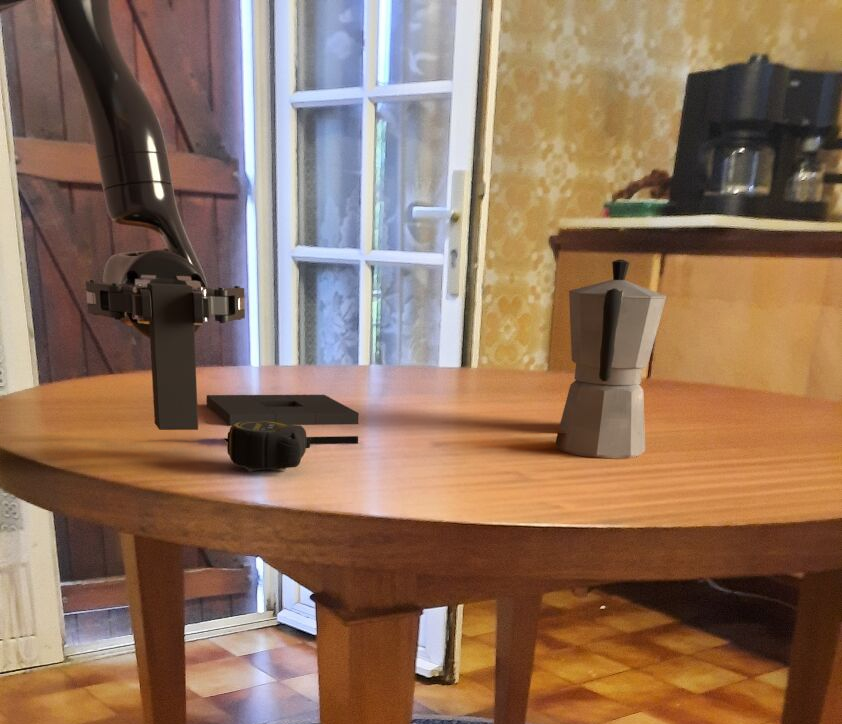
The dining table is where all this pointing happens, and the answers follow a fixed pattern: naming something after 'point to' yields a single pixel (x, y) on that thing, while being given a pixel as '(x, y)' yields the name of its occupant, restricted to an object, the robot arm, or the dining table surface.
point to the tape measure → (266, 445)
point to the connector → (173, 357)
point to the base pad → (286, 412)
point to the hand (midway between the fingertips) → (173, 307)
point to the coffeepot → (609, 367)
